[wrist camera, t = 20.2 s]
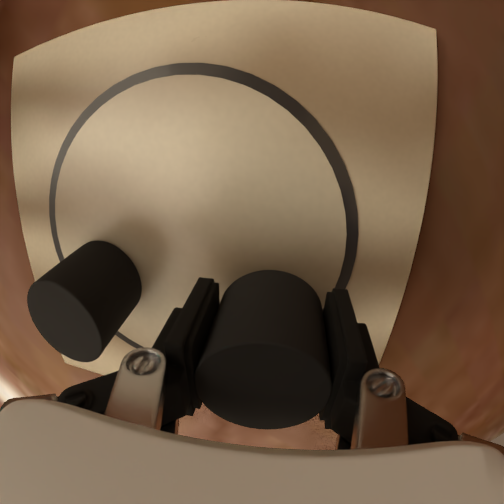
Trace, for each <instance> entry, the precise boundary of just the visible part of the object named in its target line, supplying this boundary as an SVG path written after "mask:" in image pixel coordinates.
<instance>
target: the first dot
mask: <svg viewBox="0 0 504 504" xmlns="http://www.w3.org/2000/svg"><path fill="white" fill-rule="evenodd" d="M141 293H142V285H141V279H140V276H139V273H138V271H137V268H136V267H135V265H134V263H133V262H132V260H131V259H130V258H129V257H128V256H127V254H125V253H124V252H123V251H122V250H121V249H120V248H118V247H117V246H115V245H113V244H111V243H109V242H105V241H90V242H87V243H86V244H84V245H82V246H81V247H80V248H78V249H77V250H76V251H74V252H73V253H72V254H70V255H69V256H68V257H66V258H65V259H64V260H62V261H61V262H60V263H58V264H57V265H56V266H54V267H53V268H52V269H50V270H49V271H48V272H47V273H45V274H44V275H43V276H42V277H40V278H39V279H38V280H37V281H35V282H34V283H33V284H32V285H31V287H30V289H29V292H28V297H27V302H28V308H29V312H30V315H31V317H32V320H33V322H34V324H35V326H36V327H37V329H38V330H39V332H40V333H41V335H42V336H43V337H44V338H45V340H46V341H47V342H48V343H49V344H50V345H51V346H52V347H53V348H55V349H56V350H57V351H58V352H60V353H61V354H63V355H65V356H66V357H68V358H70V359H73V360H75V361H79V362H92V361H94V360H96V359H98V358H99V357H100V355H101V354H102V353H103V351H104V350H105V348H106V347H107V345H108V344H109V343H110V341H111V340H112V338H113V337H114V336H115V334H116V333H117V331H118V330H119V329H120V327H121V326H122V324H123V323H124V322H125V320H126V319H127V318H128V316H129V315H130V313H131V312H132V311H133V309H134V308H135V307H136V305H137V304H138V302H139V300H140V298H141Z"/></svg>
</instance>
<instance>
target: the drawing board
mask: <svg viewBox="0 0 504 504" xmlns="http://www.w3.org/2000/svg"><path fill="white" fill-rule="evenodd" d="M437 83H438V65H437V37H436V29H433V28H430V27H427V26H424V25H421V24H418V23H415V22H411V21H408V20H404V19H401V18H397V17H393V16H389V15H385V14H380V13H376V12H371V11H366V10H361V9H356V8H350V7H344V6H337V5H330V4H322V3H313V2H302V1H286V0H230V1H214V2H203V3H193V4H185V5H178V6H171V7H165V8H160V9H154V10H149V11H144V12H139V13H135V14H131V15H126V16H122V17H119V18H115V19H111V20H108V21H104V22H101V23H97V24H94V25H91V26H88V27H85V28H82V29H79V30H76V31H73V32H70V33H68V34H65V35H62V36H60V37H57V38H55V39H52V40H50V41H48V42H45V43H43V44H41V45H38V46H36V47H34V48H32V49H30V50H27V51H25V52H23V53H21V54H19V55H17V56H15V57H14V63H13V75H12V90H11V141H12V158H13V169H14V179H15V187H16V195H17V202H18V208H19V214H20V219H21V225H22V230H23V235H24V239H25V244H26V248H27V253H28V257H29V261H30V265H31V268H32V272H33V276H34V279H35V281H37V280H38V279H39V278H40V277H42V276H43V275H44V274H45V273H47V272H48V271H49V270H50V269H52V268H53V267H54V266H56V265H57V264H58V263H60V262H61V261H62V260H64V259H65V258H66V257H68V256H69V255H70V254H72V253H73V252H74V251H76V250H77V249H78V248H80V247H81V246H82V245H84V244H86V243H87V242H90V241H105V242H109V243H111V244H113V245H115V246H117V247H118V248H120V249H121V250H122V251H123V252H124V253H125V254H127V256H128V257H129V258H130V259H131V260H132V262H133V263H134V265H135V267H136V268H137V271H138V273H139V276H140V279H141V285H142V293H141V298H140V300H139V302H138V304H137V305H136V307H135V308H134V309H133V311H132V312H131V313H130V315H129V316H128V318H127V319H126V320H125V322H124V323H123V324H122V326H121V327H120V329H119V330H118V331H117V333H116V334H115V336H114V337H113V338H112V340H111V341H110V343H109V344H108V345H107V347H106V348H105V350H104V351H103V353H102V354H101V355H100V357H99V358H98V359H96V360H94V361H92V362H79V361H75V360H73V359H70V358H68V357H66V356H65V355H63V354H61V355H62V357H63V359H64V361H65V363H67V364H70V365H73V366H76V367H79V368H82V369H85V370H89V371H92V372H95V373H98V374H102V375H107V374H110V373H113V372H116V371H118V370H119V367H120V365H121V362H122V359H123V358H124V356H125V355H126V354H127V353H128V352H130V351H132V350H134V349H137V348H142V347H149V348H152V346H153V345H154V343H155V341H156V339H157V337H158V336H159V334H160V332H161V330H162V328H163V327H164V325H165V323H166V321H167V320H168V318H169V316H170V314H171V313H172V311H173V309H174V308H176V307H178V308H183V306H184V304H185V302H186V300H187V298H188V297H189V295H190V293H191V291H192V289H193V287H194V286H195V284H196V282H197V280H198V278H199V277H203V278H213V279H214V282H216V283H219V299H220V301H221V299H222V296H223V294H224V293H225V291H226V289H227V288H228V287H229V286H230V285H231V284H232V283H233V282H234V281H235V280H237V279H238V278H240V277H242V276H244V275H246V274H249V273H252V272H255V271H260V270H278V271H284V272H288V273H291V274H293V275H296V276H297V277H299V278H301V279H303V280H304V281H305V282H307V283H308V284H309V285H310V286H311V287H312V288H313V289H314V290H315V292H316V293H317V295H318V297H319V299H320V301H321V304H322V309H323V310H324V304H325V299H326V294H327V292H332V289H333V288H336V289H347V290H348V293H349V296H350V299H351V302H352V306H353V309H354V312H355V316H356V319H357V323H365V324H366V326H367V328H368V331H369V334H370V338H371V341H372V344H373V347H374V351H375V354H376V358H377V361H378V365H379V363H380V360H381V358H382V355H383V353H384V350H385V347H386V345H387V342H388V339H389V337H390V334H391V331H392V328H393V325H394V322H395V319H396V316H397V313H398V310H399V307H400V304H401V301H402V298H403V294H404V291H405V288H406V284H407V281H408V277H409V274H410V270H411V266H412V262H413V258H414V254H415V250H416V246H417V242H418V238H419V233H420V229H421V224H422V219H423V214H424V209H425V203H426V198H427V192H428V186H429V179H430V172H431V165H432V157H433V148H434V138H435V126H436V111H437Z"/></svg>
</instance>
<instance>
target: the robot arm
mask: <svg viewBox="0 0 504 504" xmlns="http://www.w3.org/2000/svg"><path fill="white" fill-rule="evenodd" d="M219 304H220V299H219V283H216V282H214V279H213V278H203V277H199V278H198V280H197V282H196V284H195V286H194V287H193V289H192V291H191V293H190V295H189V297H188V298H187V300H186V302H185V304H184V306H183V308H178V307H176V308H174V309H173V311H172V313H171V314H170V316H169V318H168V320H167V321H166V323H165V325H164V327H163V328H162V330H161V332H160V334H159V336H158V337H157V339H156V341H155V343H154V345H153V346H152V348H149V347H142V348H137V349H134V350H132V351H130V352H128V353H127V354H126V355H125V356H124V358H123V359H122V362H121V365H120V367H119V370H118V371H116V372H113V373H110V374H107V375H104V376H101V377H98V378H95V379H92V380H89V381H86V382H83V383H80V384H77V385H74V386H71V387H69V388H67V389H66V390H64V391H63V392H62V393H61V395H60V396H59V397H57V396H56V394H48V395H40V396H31V397H21V398H13V399H9V400H7V401H6V402H4V404H3V405H2V406H1V409H0V504H504V447H503V446H501V445H498V444H495V443H492V442H489V441H486V440H483V439H480V438H477V437H474V436H471V435H468V434H465V433H462V434H461V435H458V434H457V431H456V429H455V428H454V427H453V425H451V424H450V423H449V422H447V421H446V420H444V419H442V418H441V417H439V416H437V415H436V414H434V413H432V412H430V411H429V410H427V409H425V408H424V407H422V406H420V405H419V404H417V403H415V402H414V401H412V400H411V399H409V398H407V397H406V393H405V385H404V381H403V380H402V379H401V377H400V376H399V375H398V374H396V373H395V372H393V371H391V370H388V369H384V368H379V365H378V361H377V358H376V354H375V351H374V347H373V344H372V341H371V338H370V334H369V331H368V328H367V326H366V324H365V323H357V319H356V316H355V312H354V309H353V306H352V302H351V299H350V296H349V293H348V290H347V289H336V288H333V289H332V292H327V294H326V299H325V304H324V310H323V316H324V323H325V330H326V338H327V345H328V353H329V361H330V369H331V378H332V392H331V396H330V399H329V401H328V403H327V404H326V406H325V407H324V408H323V410H322V411H321V412H320V413H319V418H320V420H325V429H332V430H333V431H334V432H336V433H337V434H338V435H337V439H336V445H335V450H298V449H278V448H265V447H254V446H245V445H237V444H229V443H222V442H215V441H209V440H203V439H198V438H192V437H187V436H182V435H178V426H179V418H181V417H183V416H185V415H190V416H193V414H194V411H195V408H198V409H200V408H201V405H202V401H201V400H200V398H199V396H198V395H197V392H196V390H195V385H194V374H195V370H196V367H197V365H198V362H199V359H200V356H201V354H202V351H203V348H204V345H205V342H206V340H207V337H208V334H209V332H210V329H211V326H212V323H213V321H214V318H215V315H216V312H217V310H218V307H219Z"/></svg>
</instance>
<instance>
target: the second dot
mask: <svg viewBox="0 0 504 504" xmlns="http://www.w3.org/2000/svg"><path fill="white" fill-rule="evenodd" d="M194 385H195V390H196V392H197V395H198V396H199V398H200V400H201V401H202V402H203V403H204V405H205V406H206V407H207V408H208V409H210V410H211V411H212V412H213V413H215V414H216V415H218V416H219V417H221V418H223V419H225V420H227V421H229V422H232V423H234V424H238V425H241V426H245V427H249V428H256V429H280V428H287V427H291V426H295V425H298V424H301V423H303V422H305V421H308V420H310V419H311V418H313V417H314V416H316V415H317V414H318V413H320V412H321V411H322V410H323V408H324V407H325V406H326V404H327V403H328V401H329V399H330V396H331V392H332V378H331V369H330V361H329V353H328V345H327V338H326V330H325V323H324V316H323V309H322V304H321V301H320V299H319V297H318V295H317V293H316V292H315V290H314V289H313V288H312V287H311V286H310V285H309V284H308V283H307V282H305V281H304V280H303V279H301V278H299V277H297V276H296V275H293V274H291V273H288V272H284V271H278V270H260V271H255V272H252V273H249V274H246V275H244V276H242V277H240V278H238V279H237V280H235V281H234V282H233V283H232V284H231V285H230V286H229V287H228V288H227V289H226V291H225V293H224V294H223V296H222V299H221V301H220V304H219V307H218V310H217V312H216V315H215V318H214V321H213V323H212V326H211V329H210V332H209V334H208V337H207V340H206V342H205V345H204V348H203V351H202V354H201V356H200V359H199V362H198V365H197V367H196V370H195V374H194Z"/></svg>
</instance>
